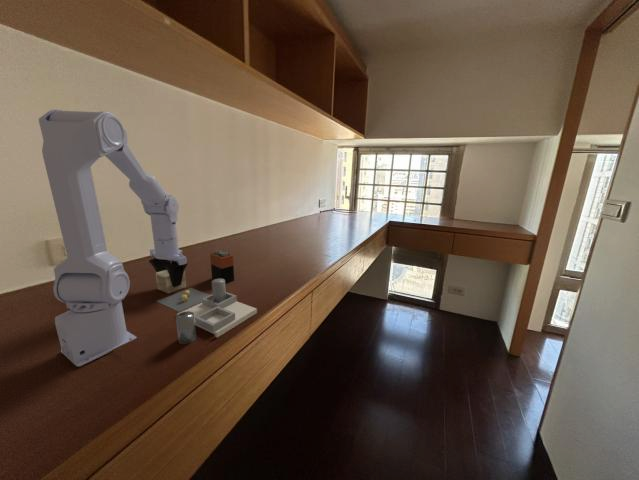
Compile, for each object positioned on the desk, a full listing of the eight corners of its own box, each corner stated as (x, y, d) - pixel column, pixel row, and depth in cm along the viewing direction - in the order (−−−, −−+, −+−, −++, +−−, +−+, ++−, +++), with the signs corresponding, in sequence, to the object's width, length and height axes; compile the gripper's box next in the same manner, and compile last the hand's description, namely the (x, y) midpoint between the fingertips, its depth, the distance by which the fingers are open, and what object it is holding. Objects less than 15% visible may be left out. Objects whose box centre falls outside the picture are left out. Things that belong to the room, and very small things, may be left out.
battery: (222, 286, 79) (220, 255, 76) (211, 280, 83) (209, 250, 81) (235, 282, 82) (233, 252, 80) (223, 276, 86) (221, 248, 84)
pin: (185, 348, 50) (182, 321, 49) (175, 343, 52) (172, 316, 50) (199, 340, 53) (197, 314, 52) (190, 335, 54) (187, 309, 53)
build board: (216, 338, 54) (214, 307, 52) (176, 318, 60) (173, 290, 59) (257, 312, 64) (256, 286, 62) (219, 298, 71) (218, 274, 69)
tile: (179, 314, 62) (178, 306, 62) (156, 303, 67) (155, 296, 67) (213, 298, 71) (213, 291, 70) (191, 289, 76) (190, 283, 75)
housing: (168, 293, 71) (166, 276, 70) (157, 289, 74) (155, 272, 72) (186, 287, 76) (185, 271, 74) (175, 282, 78) (173, 267, 77)
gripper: (195, 239, 71) (199, 284, 74) (164, 232, 78) (169, 274, 81) (170, 244, 65) (175, 293, 68) (139, 236, 72) (146, 281, 75)
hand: (170, 283), depth 74 cm, fingers closed on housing, 5 cm apart
